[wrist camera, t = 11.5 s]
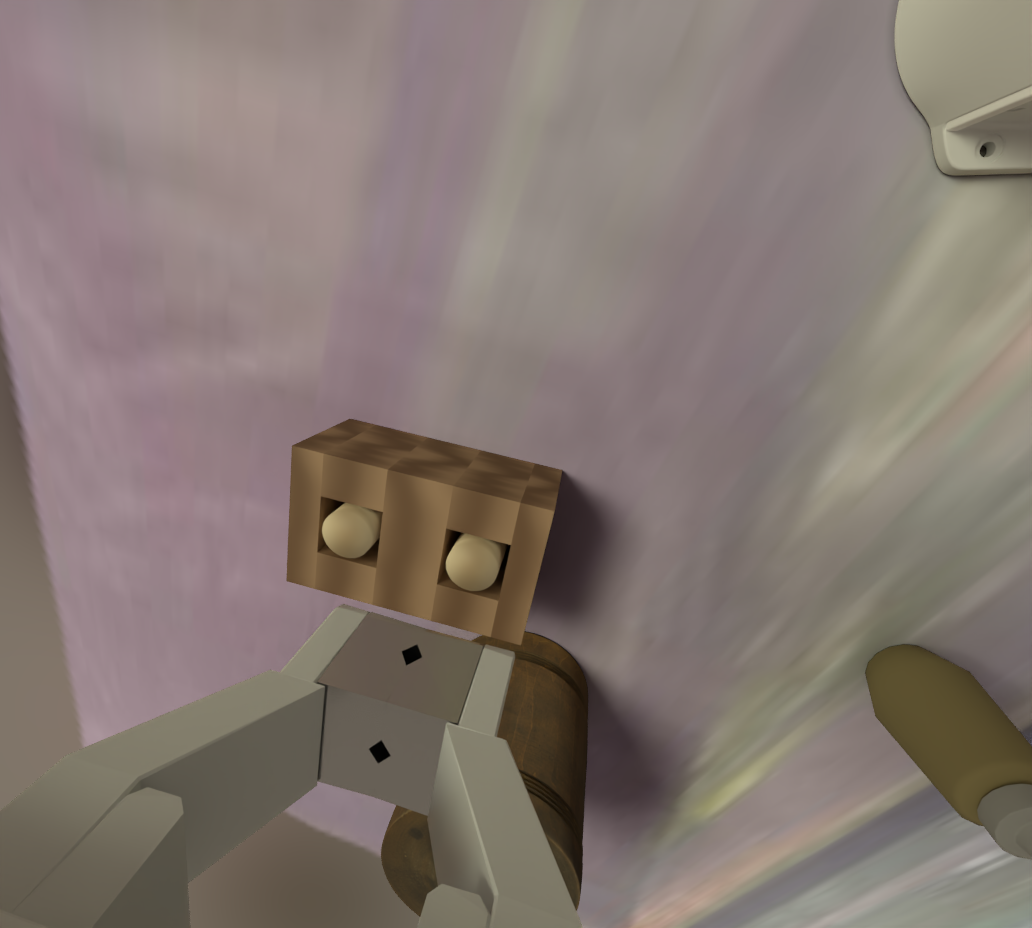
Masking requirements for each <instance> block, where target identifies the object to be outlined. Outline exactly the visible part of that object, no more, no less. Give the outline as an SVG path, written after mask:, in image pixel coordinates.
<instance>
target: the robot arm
mask: <svg viewBox="0 0 1032 928" xmlns="http://www.w3.org/2000/svg"><path fill="white" fill-rule="evenodd" d="M895 53H896V60H897V65H898V70H899V73H900V77H901V79H902V82H903V85H904V87H905V89H906V91H907V93H908V95H909V96H910V98H911V100H912V101H913V103H914V104H915V105H916V107H917V108H918V109H919V111H920V112H921V113H922V115H923V116H924V117H925V119H926V121H927V122H928V124H929V127H930V129H931V137H932V144H933V151H934V155H935V159H936V163H937V165H938V167H939V169H940V170H941V171H942V172H943V173H945V174H948V175H991V174H1026V173H1032V0H899V4H898V9H897V15H896V23H895ZM982 145H984V146H985V147H986V149H987V153H986V155H985V156H984V157H982V156H981V155H980V148H981V146H982ZM514 660H515V653H514V652H513V651H509V650H505V649H501V648H498V647H494V646H490V645H484V644H480V643H476V642H473V641H469V640H465V639H462V638H458V637H454V636H451V635H447V634H443V633H440V632H436V631H432V630H429V629H425V628H422V627H419V626H416V625H412V624H409V623H406V622H403V621H399V620H396V619H393V618H390V617H386V616H383V615H380V614H377V613H373V612H371V613H370V612H368V611H365V610H362V609H358V608H355V607H352V606H349V605H345V604H342V605H340V606H338V607H337V608H335V609H334V610H333V611H332V613H331V614H330V615H329V616H328V617H327V618H326V619H325V621H324V622H323V623H322V624H321V625H320V626H319V628H318V629H317V630H316V631H315V632H314V633H313V634H312V636H311V637H310V638H309V639H308V640H307V641H306V643H305V644H304V645H303V646H302V647H301V648H300V649H299V651H298V652H297V653H296V654H295V655H294V656H293V658H292V659H291V660H290V661H289V662H288V663H287V664H286V666H285V667H284V668H283V669H282V670H281V671H280V672H276V671H272V670H269V671H266V672H264V673H262V674H259V675H257V676H254V677H252V678H250V679H247V680H245V681H243V682H240V683H238V684H235V685H233V686H231V687H228V688H226V689H223V690H221V691H219V692H216V693H214V694H211V695H209V696H207V697H204V698H202V699H199V700H197V701H195V702H192V703H190V704H188V705H185V706H183V707H180V708H178V709H176V710H173V711H171V712H168V713H166V714H164V715H161V716H159V717H156V718H154V719H152V720H149V721H147V722H145V723H142V724H140V725H137V726H135V727H133V728H130V729H128V730H125V731H123V732H121V733H118V734H116V735H113V736H111V737H109V738H106V739H104V740H101V741H99V742H97V743H94V744H92V745H90V746H87V747H85V748H82V749H80V750H78V751H75V752H73V753H70V754H68V755H66V756H65V757H63V758H62V759H61V760H60V761H59V762H58V763H56V764H55V765H54V766H53V767H52V768H51V769H49V770H48V771H47V772H46V773H45V774H43V775H42V776H41V777H40V778H39V779H37V780H36V781H35V782H34V783H33V784H32V785H30V786H29V787H28V788H27V789H26V790H25V791H24V792H22V793H21V794H20V795H19V796H17V797H16V798H15V799H14V800H13V801H11V802H10V803H9V804H8V805H7V806H6V807H4V808H3V809H2V810H1V811H0V928H190V911H189V896H188V883H189V882H190V881H192V880H193V879H194V878H196V877H197V876H198V875H200V874H201V873H202V872H204V871H205V870H206V869H207V868H209V867H210V866H211V865H213V864H214V863H215V862H217V861H218V860H219V859H221V858H222V857H223V856H225V855H226V854H227V853H229V852H230V851H231V850H233V849H234V848H235V847H236V846H238V845H239V844H240V843H242V842H243V841H244V840H246V839H247V838H248V837H250V836H251V835H252V834H253V833H255V832H256V831H258V830H259V829H260V828H262V827H263V826H264V825H265V824H267V823H268V822H269V821H271V820H272V819H273V818H275V817H276V816H277V815H279V814H280V813H281V812H283V811H284V810H285V809H287V808H288V807H289V806H290V805H292V804H293V803H294V802H296V801H297V800H298V799H300V798H301V797H302V796H304V795H305V794H306V793H308V792H309V791H310V790H312V789H313V788H314V787H315V786H317V781H319V782H322V783H326V784H329V785H333V786H336V787H340V788H344V789H347V790H351V791H354V792H358V793H361V794H365V795H369V796H372V797H375V798H378V799H381V800H384V801H386V802H389V803H392V804H395V805H398V806H401V807H404V808H406V809H409V810H412V811H415V812H418V813H421V814H424V815H426V816H428V818H427V821H428V827H429V833H430V839H431V846H432V852H433V858H434V864H435V871H436V877H437V883H438V887H436V888H435V889H434V890H432V891H431V892H429V893H428V894H427V897H426V900H425V903H424V907H423V910H422V913H421V916H420V920H419V923H418V926H417V928H582V924H581V922H580V919H579V917H578V914H577V912H576V909H575V907H574V904H573V902H572V899H571V897H570V895H569V892H568V890H567V887H566V885H565V882H564V880H563V877H562V875H561V873H560V870H559V868H558V865H557V863H556V860H555V858H554V855H553V853H552V851H551V848H550V846H549V843H548V841H547V838H546V836H545V833H544V831H543V829H542V826H541V824H540V821H539V819H538V816H537V814H536V811H535V809H534V807H533V804H532V802H531V799H530V797H529V794H528V792H527V789H526V787H525V785H524V782H523V780H522V777H521V775H520V772H519V770H518V767H517V765H516V763H515V760H514V758H513V755H512V753H511V750H510V748H509V745H508V743H507V741H506V740H504V739H501V738H498V737H497V733H498V729H499V724H500V720H501V716H502V711H503V707H504V703H505V698H506V694H507V690H508V686H509V681H510V677H511V673H512V668H513V664H514Z"/></svg>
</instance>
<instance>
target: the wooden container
mask: <svg viewBox="0 0 1032 928" xmlns="http://www.w3.org/2000/svg"><path fill="white" fill-rule="evenodd" d="M472 641H473V642H476V643H480V644H484V645H490V646H494V647H498V648H501V649H505V650H509V651H513V652H514V653H515V660H514V664H513V668H512V673H511V677H510V681H509V686H508V690H507V694H506V698H505V703H504V707H503V711H502V716H501V720H500V724H499V729H498V733H497V737H498V738H501V739H504V740H506V741H507V743H508V745H509V748H510V750H511V753H512V755H513V758H514V760H515V763H516V765H517V767H518V770H519V772H520V775H521V777H522V780H523V782H524V785H525V787H526V789H527V792H528V794H529V797H530V799H531V802H532V804H533V807H534V809H535V811H536V814H537V816H538V819H539V821H540V824H541V826H542V829H543V831H544V833H545V836H546V838H547V841H548V843H549V846H550V848H551V851H552V853H553V855H554V858H555V860H556V863H557V865H558V868H559V870H560V873H561V875H562V877H563V880H564V882H565V885H566V887H567V890H568V892H569V895H570V897H571V899H572V902H573V904H574V907H575V909H576V911H577V908H578V905H579V901H580V893H581V883H582V868H583V863H582V857H583V846H582V840H583V822H584V799H585V783H586V767H587V733H588V689H587V683H586V680H585V677H584V675H583V673H582V671H581V669H580V667H579V666H578V664H577V663H576V661H575V660H574V659H573V658H572V657H571V655H570V654H569V653H568V652H566V651H565V650H564V649H563V648H562V647H560V646H559V645H557V644H556V643H554V642H552V641H550V640H548V639H546V638H544V637H541V636H539V635H535V634H532V633H528V632H524V635H523V639H522V643H521V645H518V644H514V643H510V642H507V641H503V640H500V639H496V638H492V637H489V636H485V635H482V636H480V637H478V638H476V639H474V640H472ZM427 818H428V816H426V815H424V814H421V813H418V812H415V811H412V810H409V809H406V808H404V807H401V806H398V805H396V808H395V810H394V812H393V815H392V817H391V820H390V822H389V825H388V828H387V830H386V833H385V836H384V840H383V843H382V850H381V859H382V865H383V869H384V872H385V874H386V877H387V879H388V881H389V883H390V885H391V887H392V888H393V890H394V891H395V893H396V894H397V895H398V897H400V899H401V900H402V901H403V902H404V903H405V904H406V905H407V906H408V907H409V908H410V909H411V910H413V911H414V912H415V913H416V914H417V915H419V916H421V913H422V910H423V907H424V903H425V900H426V897H427V894H428V893H429V892H431V891H432V890H434V889H435V888H436V887H438V883H437V877H436V871H435V864H434V858H433V852H432V846H431V839H430V833H429V827H428V821H427Z"/></svg>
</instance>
